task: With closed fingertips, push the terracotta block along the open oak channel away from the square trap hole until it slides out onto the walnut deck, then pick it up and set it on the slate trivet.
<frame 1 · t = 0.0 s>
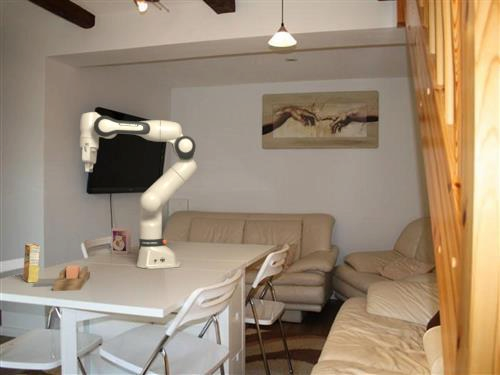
hand: (88, 171, 215), 48 cm above the table, tool pointing down, fingers open, 8 cm apart
trivet: (47, 283, 179), on the table
block: (73, 277, 181), point 2 cm above the table, touching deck
candy box: (30, 281, 184), on the table
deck: (72, 283, 180), on the table
greeting card: (122, 252, 264), on the table
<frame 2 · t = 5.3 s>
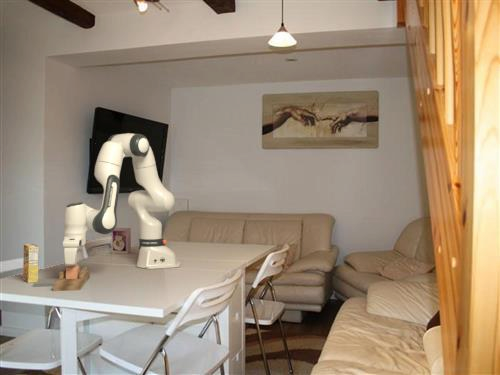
hand: (74, 272, 184), 4 cm above the table, tool pointing down, fingers closed
block: (72, 277, 180), point 3 cm above the table, touching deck, gripper
everything else where it was.
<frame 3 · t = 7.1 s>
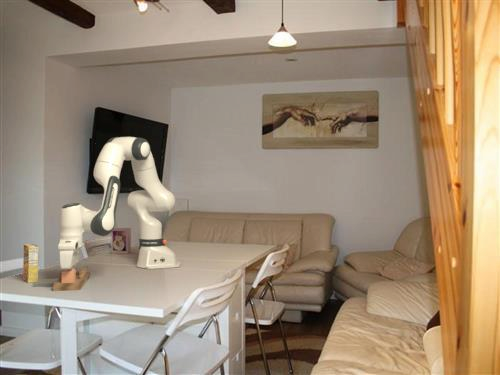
hand: (70, 276, 176), 4 cm above the table, tool pointing down, fingers closed
block: (68, 281, 172), point 2 cm above the table, touching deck, gripper
everything else where it was.
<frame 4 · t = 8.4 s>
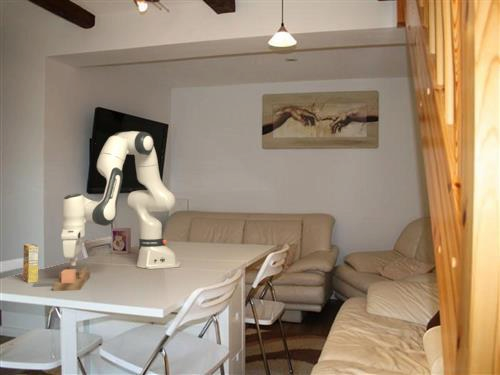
hand: (73, 265, 181), 7 cm above the table, tool pointing down, fingers closed
block: (68, 281, 172), point 2 cm above the table, touching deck
everything else where it was.
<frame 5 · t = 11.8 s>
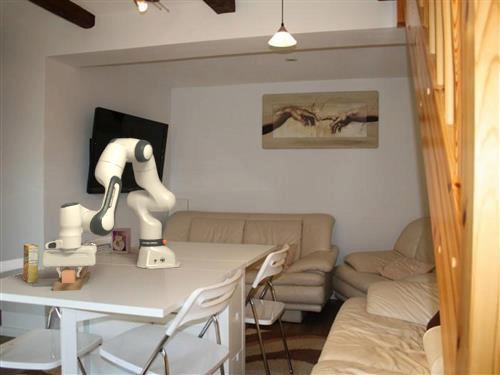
hand: (69, 277, 173), 4 cm above the table, tool pointing down, fingers closed on block, 4 cm apart
block: (69, 281, 172), point 3 cm above the table, touching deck, gripper
everything else where it was.
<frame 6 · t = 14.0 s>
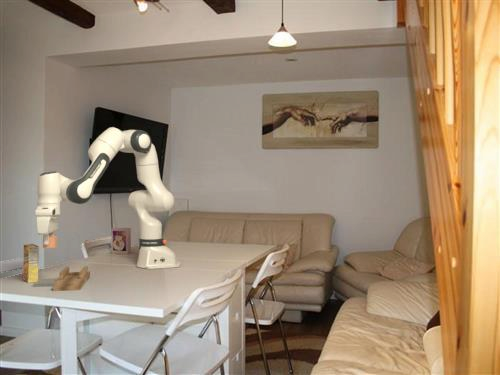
hand: (48, 243, 179), 17 cm above the table, tool pointing down, fingers closed on block, 4 cm apart
block: (50, 247, 179), point 15 cm above the table, touching gripper
everything else where it was.
when the fingers open (4 cm above the table, at t = 16.6 s): block drops 1 cm, resting on trivet.
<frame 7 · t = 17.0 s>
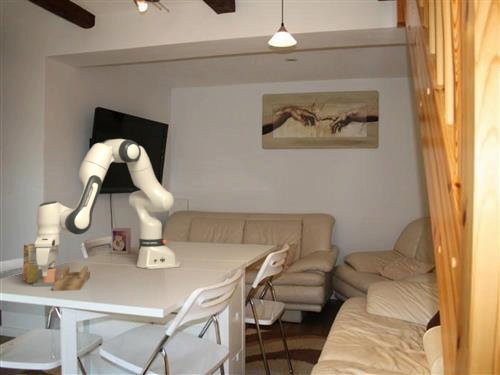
hand: (48, 273, 179), 4 cm above the table, tool pointing down, fingers open, 8 cm apart
block: (49, 280, 179), point 1 cm above the table, touching trivet
everything else where it was.
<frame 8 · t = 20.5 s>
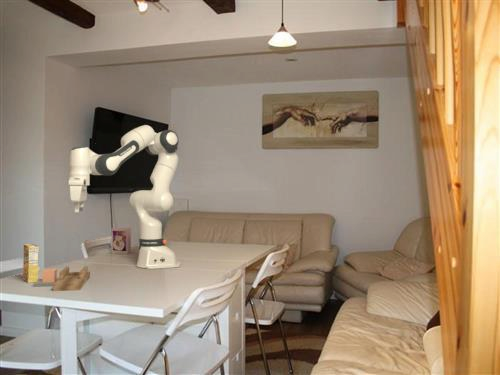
hand: (79, 211, 197), 29 cm above the table, tool pointing down, fingers open, 8 cm apart
nothing on the table moved.
at the end: block inside the target area on the trivet (0.7 cm from its centre), point 1.2 cm above the trivet's base; block tilted 0°; the gripper is holding nothing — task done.
